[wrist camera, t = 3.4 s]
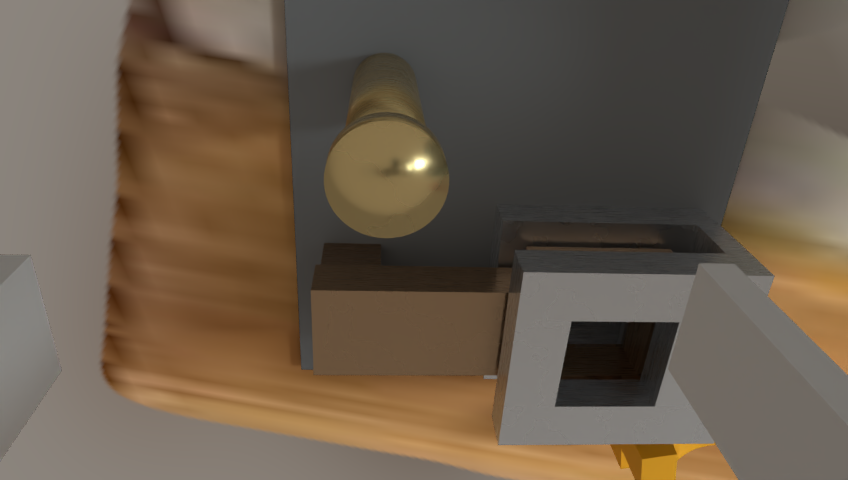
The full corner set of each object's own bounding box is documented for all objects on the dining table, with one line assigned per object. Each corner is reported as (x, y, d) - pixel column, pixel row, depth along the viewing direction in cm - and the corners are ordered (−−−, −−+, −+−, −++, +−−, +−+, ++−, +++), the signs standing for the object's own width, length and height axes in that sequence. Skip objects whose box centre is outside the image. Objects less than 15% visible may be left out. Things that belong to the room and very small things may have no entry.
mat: (284, -37, 27) (282, -36, 27) (785, -10, 29) (791, -9, 29) (302, 364, 38) (301, 369, 37) (673, 365, 39) (676, 370, 39)
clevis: (318, 199, 32) (303, 268, 26) (702, 208, 34) (774, 275, 28) (322, 356, 37) (310, 446, 31) (660, 357, 38) (713, 443, 32)
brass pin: (344, 41, 29) (322, 119, 18) (427, 45, 29) (453, 123, 18) (344, 122, 30) (324, 236, 20) (422, 125, 31) (444, 239, 20)
